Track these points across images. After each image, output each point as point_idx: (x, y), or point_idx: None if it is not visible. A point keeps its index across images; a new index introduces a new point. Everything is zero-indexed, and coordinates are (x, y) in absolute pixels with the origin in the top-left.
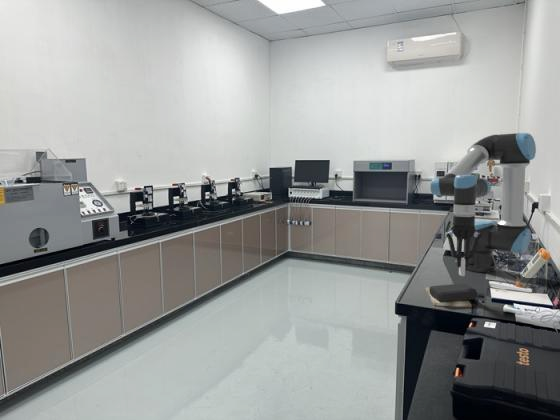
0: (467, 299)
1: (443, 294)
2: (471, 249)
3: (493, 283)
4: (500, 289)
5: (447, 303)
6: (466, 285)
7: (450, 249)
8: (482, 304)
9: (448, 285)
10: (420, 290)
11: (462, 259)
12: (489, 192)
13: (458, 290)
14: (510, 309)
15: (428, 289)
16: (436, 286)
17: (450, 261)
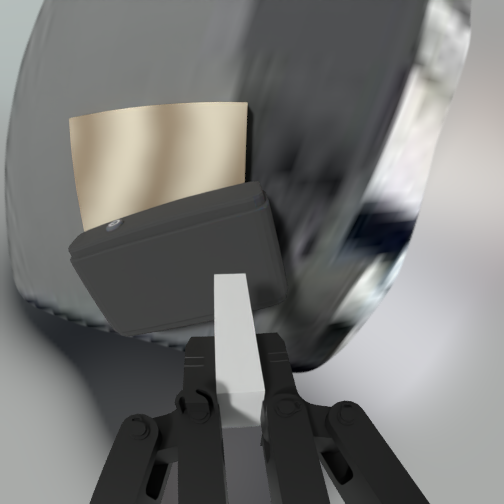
0: None
1: (130, 334)
2: (351, 496)
3: (440, 24)
4: (440, 97)
5: None
6: (259, 245)
7: (98, 485)
8: (293, 276)
9: (153, 248)
10: (53, 138)
11: (234, 424)
12: None
13: (195, 314)
14: (362, 302)
15: (78, 153)
16: (93, 265)
17: None
